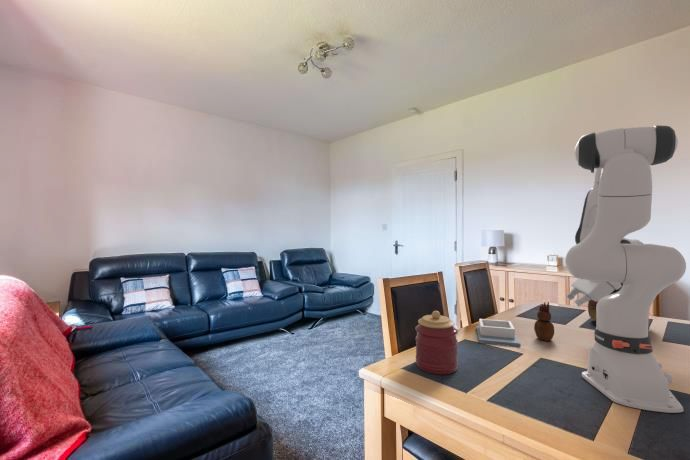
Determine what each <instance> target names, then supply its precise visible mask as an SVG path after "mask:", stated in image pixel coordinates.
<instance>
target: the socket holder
mask: <svg viewBox="0 0 690 460" xmlns="http://www.w3.org/2000/svg"><path fill="white" fill-rule="evenodd" d="M478 322H479V323H478V325H476V333H477V337H478V338H477V339H478V343H479V342H483V343H482V344H487V343H493V344H492V345H497V344H500V345H501V346H507V345H509V346H510V347H517V348H518V347H520V348H521V341H520V340H519V338H518V336H517V334H516V331H515V330H516V329H515V326H514V325H513V323H512V321H511V320H503V319H502V320H500V319H486V318H485V319H484V318H479V321H478ZM500 345H499V346H500Z"/></svg>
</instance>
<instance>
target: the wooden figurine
mask: <svg viewBox="0 0 690 460" xmlns="http://www.w3.org/2000/svg"><path fill="white" fill-rule="evenodd" d="M536 317H537V320H535V322H534V325H533V326H534V328H533V329H534V334H535V335H536V338H537V339H539V340H540V341H544V342H550V341H552V340H553V338H554V336H555V326H554V324H553V322H552V321H551V319H552V314H551V312H550V302H549V301H548V302H547V303H546V302H544V303H543V304H541V305H540V306H539V308H538V311H537V312H536Z"/></svg>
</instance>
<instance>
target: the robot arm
mask: <svg viewBox="0 0 690 460" xmlns="http://www.w3.org/2000/svg"><path fill="white" fill-rule="evenodd" d="M677 148H678V137H677V134H676V131H675V130H674V129H673V128H672V126H669V125H653V126H642V127H641V126H639V127H627V128H623V127H622V128H621V127H620V128H614V129H609V130H604V131H599V132H590V133H586V134H584V135H582V136H581V137H580V138H579V139H578V142H577V143H576V146H575V147H574V158H575V161H576V162H577V164H578V166H579V167H581V168H582V169H584V170H589V171H590V173H592V174H594V173H595V174H594V184H593V187H592V188H590V190H589V191H588V192H587V193H586V196H585V199H584V204H583V208H582V212H581V218H580V221H579V225H578V229H577V230H576V231H575V235H574V240H575V241H574V242H575V245H574V246H573V245H572V247H571V248H569V250H568V251H567V252H566V256H565V261H564V262H565V267H566V269H567V270H568V273H569V274H570V275H572V276H573V278H576V280H574V281H573V282H572V283H571V287H572V289H571V290H570V291H569V293H568V294H566V298H567V299H568V300H570V301H571V300H573V299H574V298H575V297H576V296H577V295H579V294H582V296H581V297H579V298H577V299H576V300H574V304H575V305H577V306H578V307H580V306H582V305H583V304H585V303H587V302H589V300H591V299H592V300H594V301H598V303H597V305H596V320H595V321H596V323H595V324H596V327H594V332H593V335H594V341H595V342H594V343H593V345H592V346H591V347H590V348H588V355H587V356H588V357H587V368H586V369H587V370H585V371H582V372H581V377H582V378H583V379H584V380H585V381H586V382H588V383H589V384H590V385H591V386H593V387H594V388H596V389H597V390H598V391H599V392H601V393H602V394H603V395H604V396H605V397H607V398H608V399H610V401H612V402H614V403H616V404H620V405H622V406H627V407H630V408H633V409H634V408H635V409H640V410H644V411H651V412H660V413H672V414H673V413H674V414H675V413H683V412H684V407H683V405H682V404H681V403H680V401H679V400H678V398H677V397H676V396H675V395H674V394H673V393H672V392H671V390H670V388H669V387H670V385H669V384H672V382H673V378H672V377H673V376H672V375H671V374H670V373H668V372H666V373H665V372H664V371H663V369H662V366H663V365H662V363H659V362H658V361H657V360H656V357H655V356H654V354H653V351H654V350H653V349H654V348H653V346H652V345H653V342H652V339H651V337H650V335H649V317H650V309H651V307H652V304H653V302H654V300H655V299H656V298H657V296H658V295H659V294H660V293H661V292H662V291H663V290H664V289H666V288H667V287H669V286H671V285H673V284H675V283H677V282H679V281H680V279H682V278H683V277H684V274H685V273H686V270H687V262H686V259H685V257H684V256H683V254H682V253H681V252H680V251H679V250H678V249H676V248H675V247H672V246H667V245H658V244H655V243H654V244H653V243H643V242H642V241H640V240H638V239H635V238H631V239H630V238H627V237H626V236H628V235H630V234H632V233H635V232H637V231H640V230H642V229H643V228H645V227H646V226H648V224H649V223H650V221H651V217H652V197H653V178H652V177H653V175H652V168H651V166H654V165H655V166H656V165H659V164H660V165H661V164H663V163H667V162H668V161H669V160H671V159H672V158H673V156H674V154H675V152H676V151H677ZM621 283H623V286H622V285H621ZM621 286H622V288H621V289H620V290H619V291H618V292H616V293H614V294H610V293H612V292H613V291H614V289H616V290H618V289H619V288H620V287H621ZM609 294H610V295H609Z"/></svg>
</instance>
